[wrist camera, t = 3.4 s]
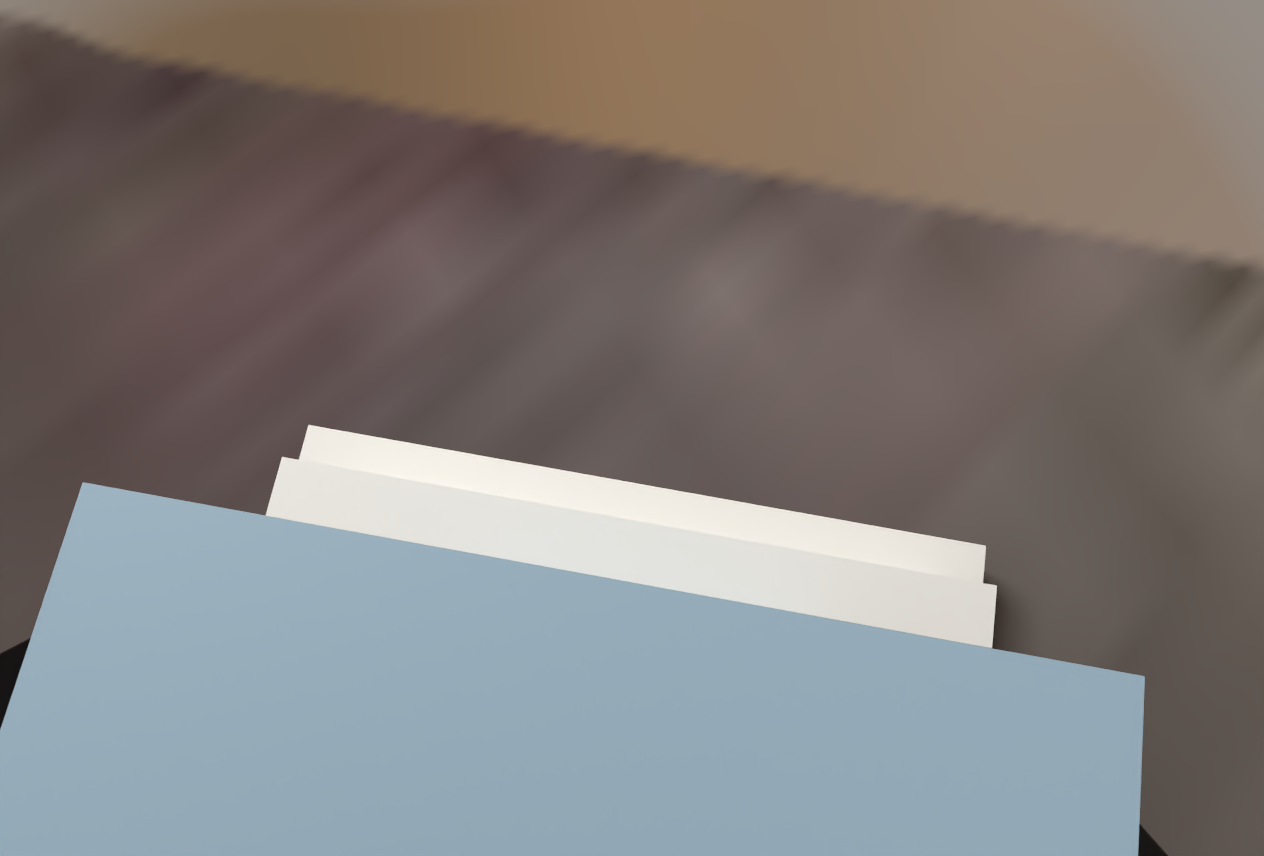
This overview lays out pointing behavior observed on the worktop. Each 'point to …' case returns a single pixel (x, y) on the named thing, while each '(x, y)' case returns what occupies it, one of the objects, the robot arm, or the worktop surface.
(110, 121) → the worktop surface
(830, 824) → the blue rectangular block
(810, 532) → the rack
